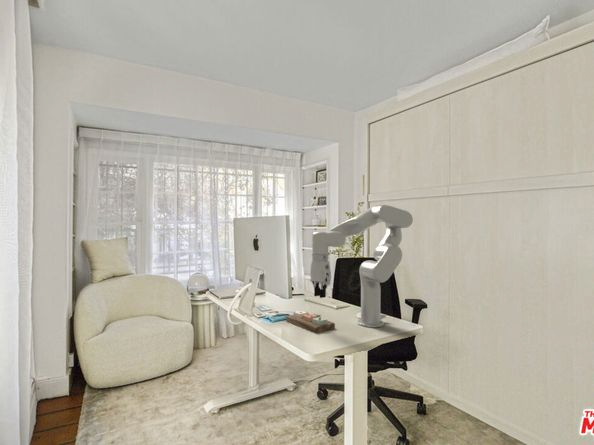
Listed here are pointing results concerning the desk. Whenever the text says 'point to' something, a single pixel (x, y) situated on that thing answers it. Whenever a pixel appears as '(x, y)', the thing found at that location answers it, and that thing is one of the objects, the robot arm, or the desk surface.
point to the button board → (310, 324)
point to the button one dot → (299, 314)
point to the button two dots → (309, 317)
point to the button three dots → (319, 321)
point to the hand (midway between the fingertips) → (319, 296)
